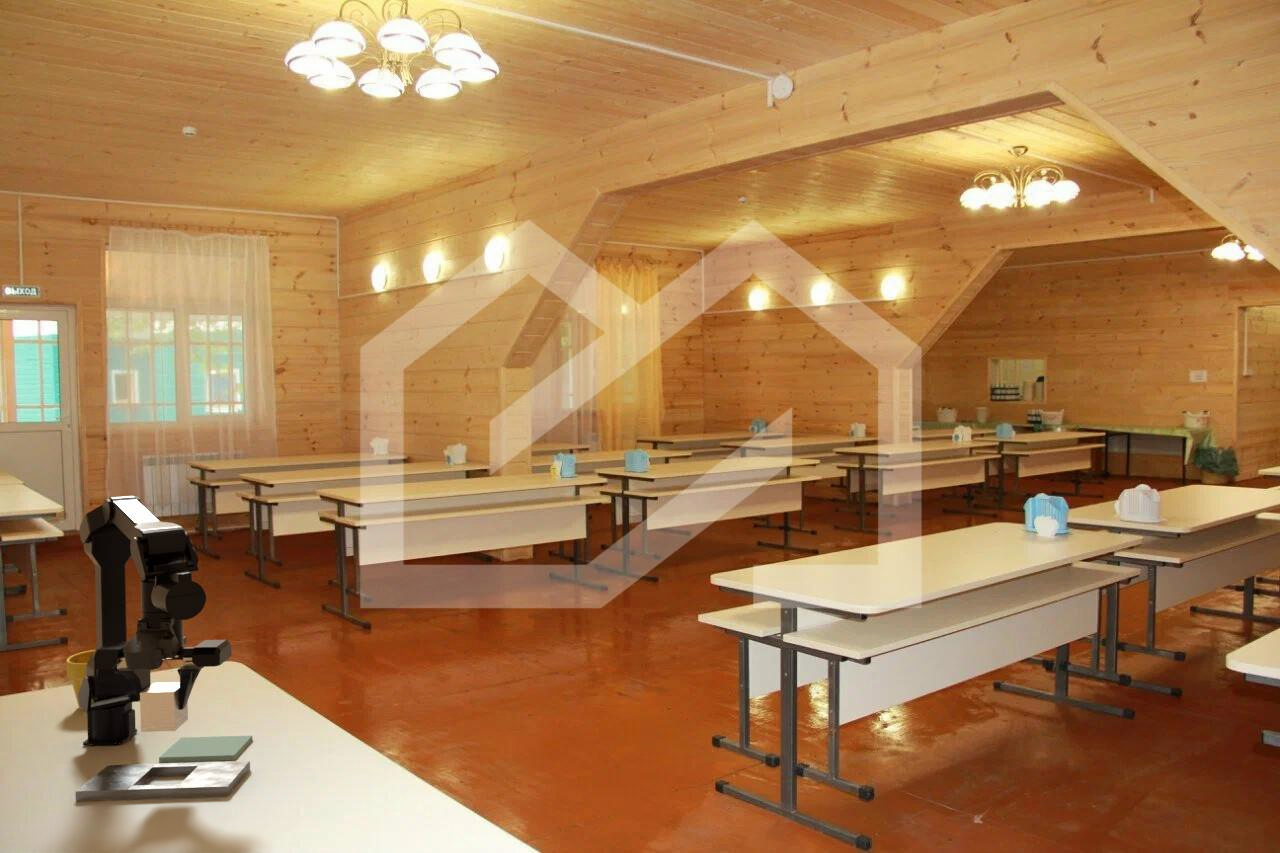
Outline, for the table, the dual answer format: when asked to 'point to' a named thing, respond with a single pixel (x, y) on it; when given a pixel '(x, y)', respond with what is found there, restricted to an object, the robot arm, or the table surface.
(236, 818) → the table surface
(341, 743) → the table surface
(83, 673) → the plant pot
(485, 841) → the table surface
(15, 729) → the table surface
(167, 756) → the teal pad
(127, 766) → the grey flat plate
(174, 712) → the pale wooden block
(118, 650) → the robot arm
